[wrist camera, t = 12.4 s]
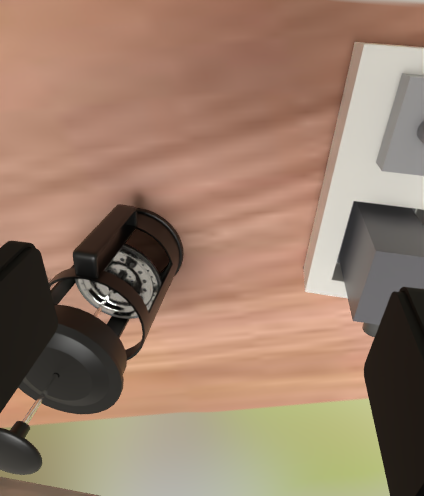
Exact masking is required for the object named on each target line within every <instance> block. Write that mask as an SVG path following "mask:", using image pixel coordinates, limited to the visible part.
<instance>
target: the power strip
mask: <svg viewBox="0 0 424 496" xmlns="http://www.w3.org/2000/svg"><path fill="white" fill-rule="evenodd" d="M354 201H358V202H366V203H374V204H382V205H390V206H399V207H407V208H412V210H413V211H414V213H415V214H416V215H417V217H418V218H419V220H420V221H421V223H422V224H423V226H424V47H417V46H404V45H391V44H379V43H366V42H355V43H354V48H353V52H352V57H351V61H350V65H349V70H348V74H347V79H346V83H345V87H344V92H343V96H342V101H341V105H340V109H339V114H338V118H337V123H336V127H335V131H334V136H333V140H332V145H331V149H330V153H329V158H328V162H327V167H326V171H325V175H324V180H323V184H322V189H321V193H320V197H319V202H318V206H317V211H316V215H315V219H314V224H313V228H312V233H311V237H310V241H309V246H308V250H307V254H306V259H305V263H304V268H303V269H304V284H305V292H309V293H316V294H322V295H329V296H336V297H342V298H348V297H347V292H346V288H345V283H344V279H343V274H342V270H341V265H340V261H339V254H340V251H341V247H342V243H343V240H344V236H345V232H346V229H347V225H348V221H349V218H350V214H351V210H352V207H353V203H354Z"/></svg>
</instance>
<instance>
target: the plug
mask: <svg viewBox="0 0 424 496" xmlns="http://www.w3.org/2000/svg"><path fill="white" fill-rule="evenodd" d="M339 261H340V265H341V270H342V274H343V279H344V283H345V288H346V292H347V297H348V301H349V306H350V310H351V315H352V319H353V321H357V322H364V324H363V327H362V328H363V330H364V332H365V333H366V334H368V335H370V336H372V337H375V335H376V333H377V330H378V327H379V325H380V322H381V319H382V317H383V314H384V312H385V309H386V306H387V304H388V301H389V298H390V296H391V294H392V292H394V291H395V292H399V290H400V289H401V288H402V287H411V288H419V289H424V226H423V224H422V223H421V221H420V220H419V218H418V217H417V215H416V214H415V213H414V211H413V210H412V208H407V207H399V206H390V205H382V204H374V203H366V202H358V201H354V203H353V207H352V210H351V214H350V218H349V221H348V225H347V229H346V232H345V236H344V240H343V243H342V247H341V251H340V254H339Z"/></svg>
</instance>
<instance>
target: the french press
mask: <svg viewBox="0 0 424 496" xmlns="http://www.w3.org/2000/svg"><path fill="white" fill-rule="evenodd" d="M135 229H138V230H141V231H143V232H145V233H147V234H148V235H150V236H152V237H153V238H154V239H155V240H156V241H157V242H159V244H160V245H161V246H162V247H163V248H164V250H165V251H166V253H167V255H168V257H169V260H170V261H169V264H168V266H167V267H166V269H165V270H164V271H162V272H161V273H159V272H158V270H157V269H156V267H155V266H154V264H153V263H152V262H151V261H150V259H149V258H148V257H146V256H145V255H144V254H143V253H142V252H140V251H139V250H137V249H136V248H134V247H132V246H130V245H128V244H125V243H126V241H127V240H128V239H129V237H130V236H131V235H132V233H133V232H134V231H135ZM182 260H183V247H182V244H181V240H180V238H179V236H178V234H177V232H176V231H175V230H174V228H173V227H172V226H171V225H170V224H169V223H168V222H167V221H166V220H165V219H163V218H162V217H160V216H159V215H157V214H155V213H153V212H150V211H148V210H144V209H140V208H136V207H134V206H127V205H117V206H116V207H115V208H114V209H113V210H112V211H111V212H110V213H109V214H108V215H107V216H106V217H105V218H104V219H103V221H102V222H101V223H100V224H99V225H98V226H97V227H96V228H95V229H94V230H93V231H92V232H91V233H90V234H89V235H88V236H87V237H86V238H85V239H84V241H83V242H82V243H81V244H80V245H79V246H78V247H77V248H76V249H75V250H74V252H73V261H74V265H73V266H72V267H71V268H70V269H67V270H64V271H62V272H61V273H59V274H57V275H56V276H55V277H54V278H53V279H52V280H51V281H50V282H49V287H51V285H52V284H54V283H56V282H58V281H59V282H58V283H57V284H56V285H55V286H54V287H53V288H52V290H51V295H52V299H53V303H54V306H55V310H56V314H57V318H58V327H57V330H56V332H55V334H54V336H53V337H52V338H51V340H50V341H49V343H48V344H47V346H46V347H45V349H44V350H43V352H42V353H41V355H40V356H39V357H38V359H37V360H36V362H35V363H34V365H33V366H32V368H31V369H30V371H29V372H28V373H27V375H26V376H25V378H24V379H23V381H22V382H21V384H20V385H19V387H18V388H20V389H21V390H22V391H23V392H24V393H26V394H27V395H28V396H30V397H31V398H33V399H34V400H36V402H35V403H34V405H33V406H32V408H31V409H30V411H29V412H28V414H27V415H26V417H25V418H24V419H23V421H17V422H16V423H15V424H14V426H13V427H12V428H11V430H10V431H9V430H6V429H3V428H0V470H2V471H5V472H9V473H13V474H20V475H25V474H32V473H35V472H37V471H38V470H39V469H40V467H41V466H42V458H41V455H40V453H39V452H38V450H37V449H36V448H35V447H34V446H33V445H32V444H31V443H30V442H29V441H27V440H26V439H25V437H26V435H27V433H28V431H29V430H30V427H29V425H28V423H29V421H30V420H31V418H32V417H33V415H34V414H35V412H36V410H37V409H38V407H39V406H40V404H41V403H42V404H44V405H46V406H49V407H51V408H54V409H56V410H60V411H64V412H67V413H75V414H92V413H98V412H101V411H104V410H107V409H108V408H110V407H111V406H113V405H114V404H115V402H116V401H117V400H118V399H119V397H120V394H121V392H122V389H123V373H124V371H125V368H126V363H127V360H129V359H131V358H132V357H134V356H135V355H136V354H137V353H138V352H139V351H140V349H141V348H142V346H143V344H144V341H145V339H146V337H147V335H148V332H149V330H150V327H151V325H152V323H153V321H154V319H155V316H156V314H157V312H158V310H159V308H160V305H161V303H162V301H163V299H164V297H165V294H166V292H167V290H168V288H169V286H170V284H171V282H172V280H173V277H174V276H175V275H176V274H177V272H178V271H179V269H180V267H181V264H182ZM75 283H76V285H77V287H78V289H79V291H80V292H81V294H82V295H83V297H84V298H85V299H86V300H87V301H88V302H89V303H90V304H91V305H93V306H94V307H95V308H97V311H96V312H95V314H94V315H92V314H90V313H88V312H85V311H83V310H80V309H78V308H74V307H70V306H64V305H57V304H58V303H59V302H60V301H61V300H62V298H63V297H64V296H65V295H66V293H67V292H68V291H69V290H70V289H71V287H72V286H73V285H74V284H75ZM101 311H102V312H104V313H106V314H108V315H111V316H112V317H111V318H110V320H109V322H108V323H107V325H106V324H105V323H104V322H103V321H101V320H100V319H99V318H97V317H98V315H99V314H100V312H101ZM138 317H139V319H140V322H141V324H142V331H143V336H142V340H141V341H140V342H139V343H138V344H137V345H135V346H134V347H131V348H129V349H127V350H125V349H124V346H123V344H122V342H121V340H120V339H119V338H120V336H121V334H122V332H123V330H124V328H125V326H126V325H127V323H128V321H129V319H131V318H138Z"/></svg>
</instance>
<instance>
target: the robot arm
mask: <svg viewBox="0 0 424 496" xmlns="http://www.w3.org/2000/svg"><path fill="white" fill-rule="evenodd" d="M57 327H58V318H57V314H56V310H55V306H54V303H53V299H52V295H51V291H50V287H49V283H48V279H47V275H46V271H45V268H44V264H43V260H42V256H41V253H40V251H39V250H38V249H36V248H35V246H34V245H33V244H31V243H26V242H18V241H9V242H7V243H6V244H4V245H3V246H2V247H1V248H0V413H1V411H2V410H3V408H4V407H5V406H6V404H7V403H8V401H9V400H10V398H11V397H12V395H13V394H14V392H15V391H16V389H17V388H18V387H19V385H20V384H21V382H22V381H23V379H24V378H25V376H26V375H27V373H28V372H29V371H30V369H31V368H32V366H33V365H34V363H35V362H36V360H37V359H38V357H39V356H40V355H41V353H42V352H43V350H44V349H45V347H46V346H47V344H48V343H49V341H50V340H51V338H52V337H53V336H54V334H55V332H56V330H57ZM364 378H365V383H366V387H367V392H368V396H369V401H370V405H371V410H372V415H373V419H374V424H375V428H376V432H377V437H378V442H379V446H380V451H381V456H382V460H383V465H384V469H385V474H386V478H387V483H388V487H389V492H390V496H424V289H419V288H411V287H402V288H401V289H400V290H399V292H395V291H394V292H392V294H391V296H390V298H389V301H388V304H387V306H386V309H385V312H384V314H383V317H382V319H381V322H380V325H379V327H378V330H377V333H376V335H375V338H374V341H373V343H372V346H371V349H370V351H369V354H368V357H367V359H366V362H365V366H364ZM0 496H99V495H94V494H88V493H83V492H77V491H72V490H67V489H62V488H57V487H51V486H46V485H41V484H36V483H30V482H25V481H19V480H14V479H9V478H3V477H0Z"/></svg>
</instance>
